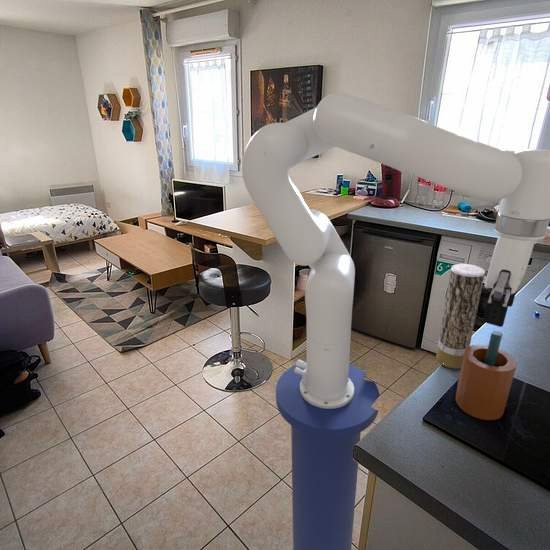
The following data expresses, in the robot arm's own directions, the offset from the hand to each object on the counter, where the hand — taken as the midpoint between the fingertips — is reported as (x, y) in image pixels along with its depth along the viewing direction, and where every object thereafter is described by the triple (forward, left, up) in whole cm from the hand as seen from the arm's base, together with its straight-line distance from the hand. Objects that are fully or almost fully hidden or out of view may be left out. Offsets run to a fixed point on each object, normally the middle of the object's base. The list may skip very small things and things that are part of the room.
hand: (497, 313), depth 69 cm
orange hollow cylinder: (0, 0, -22) cm, 22 cm away
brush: (+1, 0, -21) cm, 21 cm away
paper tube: (-9, +12, -22) cm, 27 cm away
